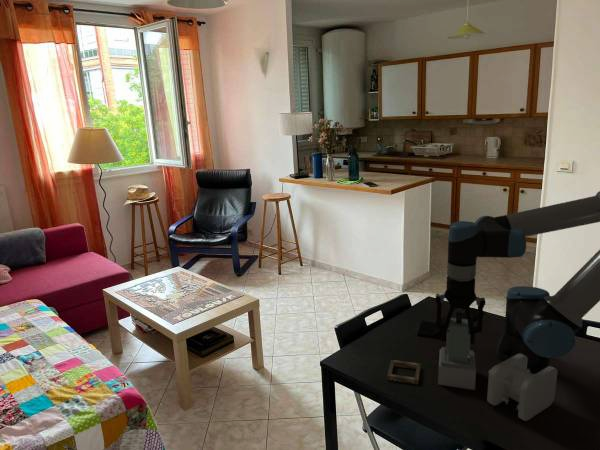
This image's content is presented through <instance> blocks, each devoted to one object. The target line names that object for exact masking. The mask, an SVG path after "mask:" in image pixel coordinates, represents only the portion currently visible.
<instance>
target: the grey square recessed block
mask: <svg viewBox="0 0 600 450" xmlns="http://www.w3.org/2000/svg"><path fill="white" fill-rule="evenodd" d="M475 356H476V355H475V352H474V350H471V349H470V353H469V355H467V362H466V364H463V363H455V362H448V352H446V346H445V347H444V346H441V348H439V356H438V357H439V359H438V373H437V374H438V376H437V377H438V378H437V379H438V380H437V384H438V385H439V386H447V387H451V388H458V389H459V388H461V389H466V390H474V391H476V378H477V377H476V375H477V368H476V357H475Z"/></svg>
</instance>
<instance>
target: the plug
mask: <svg viewBox="0 0 600 450" xmlns="http://www.w3.org/2000/svg"><path fill="white" fill-rule="evenodd" d="M462 314H463V312H462V311H456V313H455V317H451V320H450V323H449V325H448V328H449V351H448V362H455V363H463V364H466V362H467V344H468V330H469V324H468V320H467V319H462Z"/></svg>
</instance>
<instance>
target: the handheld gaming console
mask: <svg viewBox="0 0 600 450" xmlns="http://www.w3.org/2000/svg"><path fill="white" fill-rule="evenodd" d="M446 315H447V312H446V313H445V314H444V315H443V316H441V323H444V320H445V317H446ZM440 332H442V329H440V328H439V329H438V328H437V327H436V322H435V321H434V322H433V321H427V320H426V321H425V320H421V322H420V325H419V328H418V331H417V335H416V336H417V337H423V338H430V339H435V338H436V336H437V335H438V334H439V333H440Z"/></svg>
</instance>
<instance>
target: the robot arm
mask: <svg viewBox="0 0 600 450" xmlns="http://www.w3.org/2000/svg"><path fill="white" fill-rule="evenodd" d="M597 223H600V190H599V191H598V192H596V194H595V195H593V196H588V197H583V198H579V199H574V200H570V201H565V202H560V203H555V204H551V205H547V206H543V207H537V208H533V209H528V210H523V211H518V212H514V213H510V214H504V215H499V216H491V215H482V216H480V217H478V218H477V219H476V220H475V222H472V221H466V220H465V221H464V220H460V221H459V220H458V221H455V222H454V221H453V222H452V223H451V224H450V225H449V230H448V238H447V240H448V242H447V264H446V265H447V266H446V267H447V268H446V270H447V271H446V274H447V277H446V290H445V292H444V293H441V294H440V293H436V294H435V303H436V304H437V305H436V321H435V323H436V327H437V328H438V329H439V328H440V329H442V330H441V332H442V334H441V339H442V341H445V347H446V352H448V351H449V325H450V320H451V318H453V317H452V316H453V314H454V311H455V309H462V310H464V312H466V316H467V320H468V344H467V355H469V353H470V350H471V344H472V345H473V344H475V337H476V336H475V335H476V334H477V333H478V334H481V333H482V331H483V318H484V308H485V305H486V298H485V297H479V296H478V295H476V292H475V291H476V276H477V260H478V259H477V258H504V259H505V258H506V259H507V258H508V259H511V258H512V259H513V258H521V257H523V256H524V255H525V253H526V251H527V238H526V237H533V236H536V235H541V234H546V233H551V232H557V231H561V230H566V229H571V228H575V227H581V226H587V225H592V224H597ZM505 298H506V303H505V316H504V317H505V319H504V329H503V330H504V331H503V333H502V335H501V337H500V339H499V341H498V342H497V345H496V355H497V357H498V358H499V359H500V360H501V361H502V362H503V361H505V360H507V359H509V358H511V357H513V356H515V355H517V354H523V355H525V356H527V358H528V361H527V370H529V371H531V370H543V369H545V368H547V367H549V366H550V361H551V359H552V358H553V359H557V358H561V357H564V356H565V355H567V354H569V353H570V352H571V351H572V350H573V348H574V347H575V345H576V333H577V332H578V331H579V330H580V329H581V328H582V327H583V317H585V316H586V315H587V314H588V313H589V312H590V311H591V310H592V309H593V308H594V307H595V306H596V305H598V303H599V302H600V249H598V251H597V252H596V253H595V254H594V255H593V256H592V257H590V258H589V259H588V261H587V262H586V263H585V264H583V266H582V267H581V268H580V269H579V270H578V271H577V272H576V273H575V274H573V276H572V277H570V278H569V280H568V281H567V282H565V284H564V285H563V286H562V287H560V289H559V290H557V292H556V293H555V294H553V295H550V292H549V291H548V290H546V289H543V288H541V287H536V286H527V285H524V286H523V285H519V286H513V287H510V288H508V290H507V294H506V297H505ZM444 299H445V300H446V301H447V302H448V304H449V305H448V309H447V312H446V313H447V315H446V317H445V320H444V323H441V318H442V308H443V306H442V305H443V302H444V301H445V300H444ZM474 302H476V306H477V309H478V314H477V318H476V326H475V325H474V321H473V320H472V315H471V311H470V308H471V307H470V306H471V305H472V304H474Z"/></svg>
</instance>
